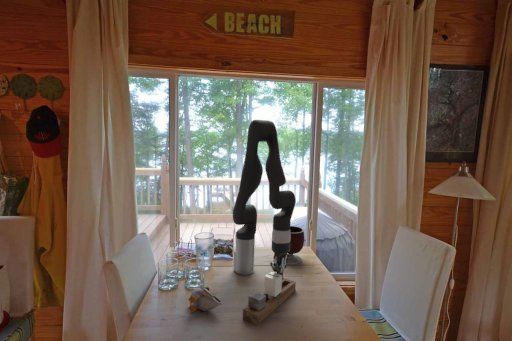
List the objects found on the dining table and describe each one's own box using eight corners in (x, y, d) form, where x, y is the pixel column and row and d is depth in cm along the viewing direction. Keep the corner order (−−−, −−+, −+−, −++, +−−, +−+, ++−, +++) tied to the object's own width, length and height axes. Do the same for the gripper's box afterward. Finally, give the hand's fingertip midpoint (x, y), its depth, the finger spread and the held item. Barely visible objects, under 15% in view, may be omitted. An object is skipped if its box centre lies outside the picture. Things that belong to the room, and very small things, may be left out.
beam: (242, 319, 106) (243, 298, 106) (283, 286, 131) (283, 269, 130) (256, 325, 103) (257, 304, 102) (295, 290, 128) (296, 273, 127)
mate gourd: (300, 254, 168) (301, 220, 166) (305, 265, 154) (307, 228, 152) (273, 254, 167) (274, 220, 165) (276, 265, 153) (277, 227, 151)
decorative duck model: (199, 278, 123) (233, 283, 119) (199, 296, 123) (232, 301, 119) (180, 292, 109) (217, 298, 105) (179, 312, 109) (216, 319, 105)
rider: (263, 297, 117) (264, 275, 116) (270, 292, 121) (271, 271, 120) (275, 302, 114) (275, 279, 113) (281, 296, 118) (282, 274, 117)
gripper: (281, 233, 127) (279, 271, 129) (264, 241, 116) (263, 283, 118) (296, 237, 123) (295, 276, 125) (281, 246, 112) (279, 289, 114)
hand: (279, 280), depth 121 cm, fingers closed
